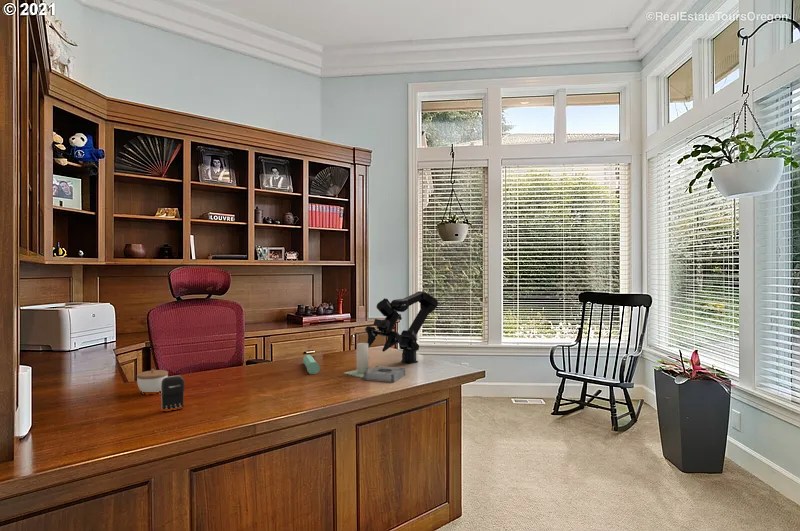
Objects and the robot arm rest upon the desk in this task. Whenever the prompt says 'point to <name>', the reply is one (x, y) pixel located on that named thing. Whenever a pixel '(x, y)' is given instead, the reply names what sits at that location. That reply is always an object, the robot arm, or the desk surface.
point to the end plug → (362, 358)
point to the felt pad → (355, 374)
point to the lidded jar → (151, 380)
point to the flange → (384, 374)
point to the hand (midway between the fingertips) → (375, 349)
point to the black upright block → (172, 392)
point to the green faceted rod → (311, 364)
